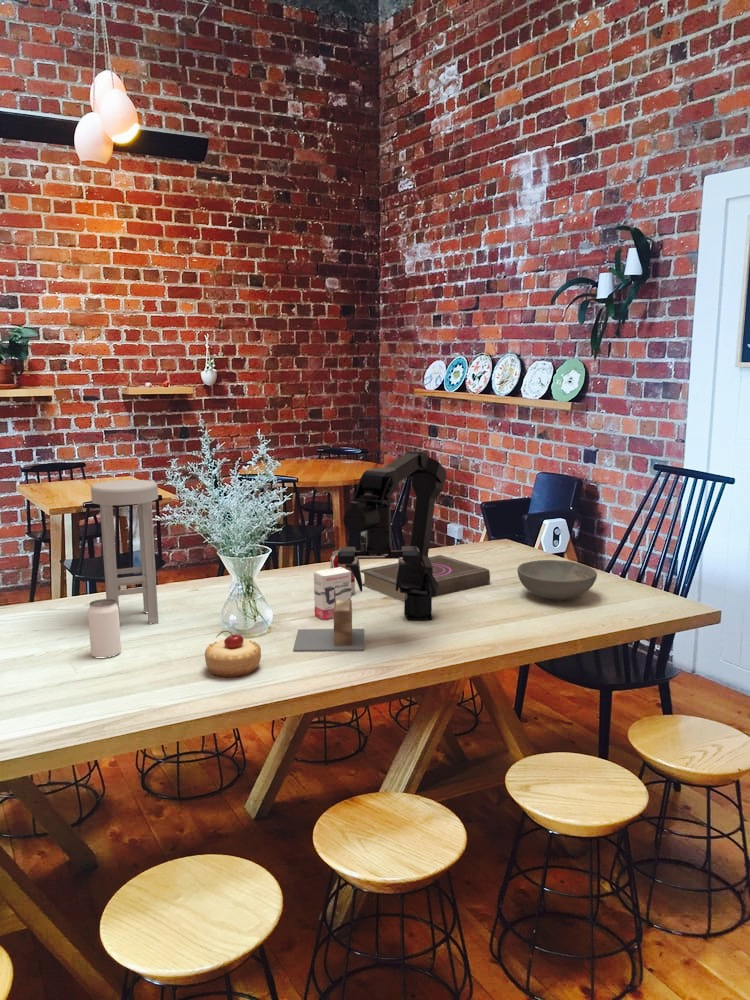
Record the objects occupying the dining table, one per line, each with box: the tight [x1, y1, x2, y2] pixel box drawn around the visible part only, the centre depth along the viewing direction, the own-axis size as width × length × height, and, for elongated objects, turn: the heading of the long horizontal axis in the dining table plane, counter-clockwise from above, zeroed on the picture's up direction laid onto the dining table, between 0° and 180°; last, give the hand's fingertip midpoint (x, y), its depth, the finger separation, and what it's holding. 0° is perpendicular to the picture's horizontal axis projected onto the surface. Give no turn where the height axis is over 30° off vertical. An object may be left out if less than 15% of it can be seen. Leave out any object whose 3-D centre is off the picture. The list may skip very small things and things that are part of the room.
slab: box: [333, 599, 353, 646], centre depth 186 cm, size 4×9×8 cm, turn 1°
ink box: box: [313, 567, 352, 621], centre depth 204 cm, size 8×5×12 cm, turn 123°
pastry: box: [204, 630, 262, 678], centre depth 169 cm, size 12×12×9 cm
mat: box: [292, 628, 365, 653], centre depth 186 cm, size 16×14×1 cm
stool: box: [90, 479, 159, 624], centre depth 200 cm, size 16×16×35 cm
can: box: [87, 598, 122, 658], centre depth 178 cm, size 6×6×12 cm
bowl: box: [516, 559, 598, 601], centre depth 219 cm, size 21×21×8 cm
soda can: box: [329, 550, 356, 595], centre depth 223 cm, size 7×7×12 cm
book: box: [360, 554, 491, 603], centre depth 232 cm, size 30×22×5 cm
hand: (379, 590), depth 185 cm, fingers open, 8 cm apart
